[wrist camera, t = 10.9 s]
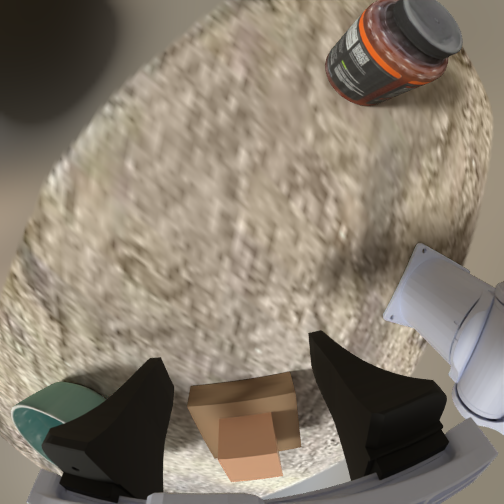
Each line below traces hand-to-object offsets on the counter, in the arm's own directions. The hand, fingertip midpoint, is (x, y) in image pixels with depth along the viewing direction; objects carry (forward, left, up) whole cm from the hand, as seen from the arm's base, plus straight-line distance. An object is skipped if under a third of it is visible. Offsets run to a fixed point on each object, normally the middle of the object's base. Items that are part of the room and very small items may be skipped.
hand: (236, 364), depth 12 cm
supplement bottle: (-3, -20, -11) cm, 23 cm away
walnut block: (-6, +14, -10) cm, 19 cm away
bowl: (+12, +23, -11) cm, 28 cm away
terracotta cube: (-6, +14, -7) cm, 17 cm away
